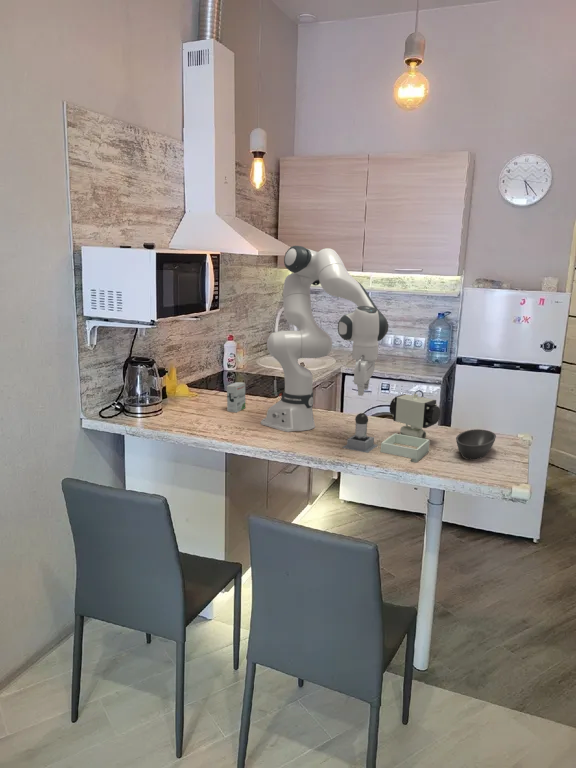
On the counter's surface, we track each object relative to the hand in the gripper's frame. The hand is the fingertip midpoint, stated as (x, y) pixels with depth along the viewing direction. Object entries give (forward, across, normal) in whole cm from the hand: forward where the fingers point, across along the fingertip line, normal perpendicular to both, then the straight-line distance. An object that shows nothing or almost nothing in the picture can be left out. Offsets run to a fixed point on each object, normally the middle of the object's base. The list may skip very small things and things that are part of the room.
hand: (363, 392), depth 204 cm
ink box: (+21, +34, +62) cm, 74 cm away
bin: (+21, +1, -16) cm, 26 cm away
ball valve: (+21, +20, -17) cm, 34 cm away
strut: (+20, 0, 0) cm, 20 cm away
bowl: (+22, +10, -39) cm, 46 cm away
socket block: (+21, 0, 0) cm, 21 cm away
